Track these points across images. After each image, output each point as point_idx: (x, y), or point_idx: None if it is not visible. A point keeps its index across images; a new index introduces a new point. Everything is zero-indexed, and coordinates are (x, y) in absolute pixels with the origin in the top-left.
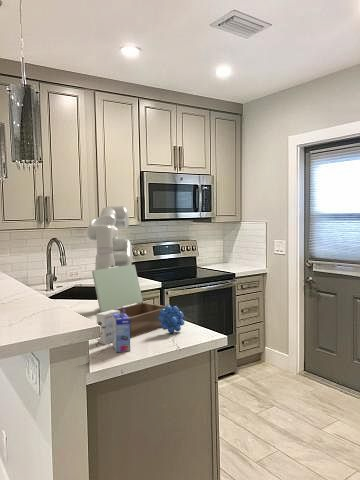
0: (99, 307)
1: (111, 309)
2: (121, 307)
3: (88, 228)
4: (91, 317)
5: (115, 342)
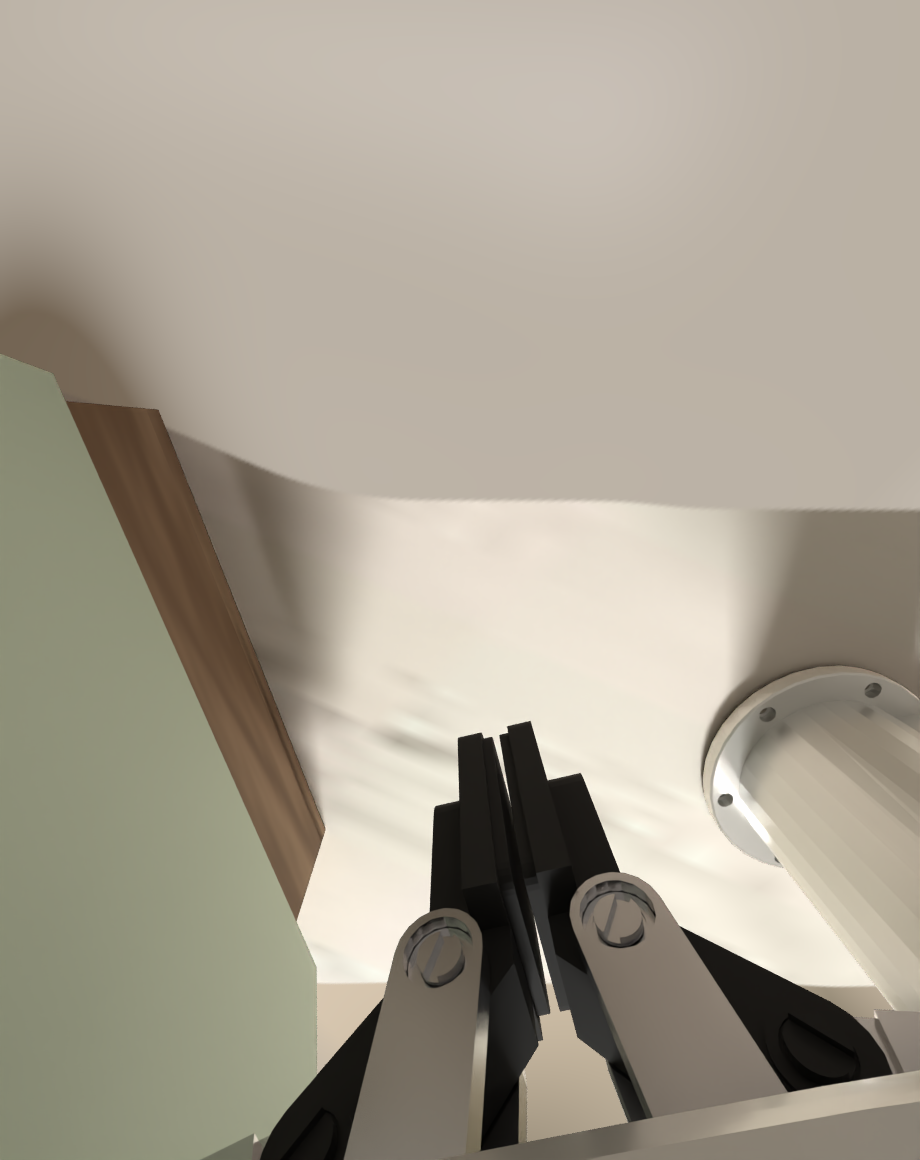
0: (12, 360)
1: (756, 751)
2: (768, 850)
3: None
4: (716, 516)
5: None
